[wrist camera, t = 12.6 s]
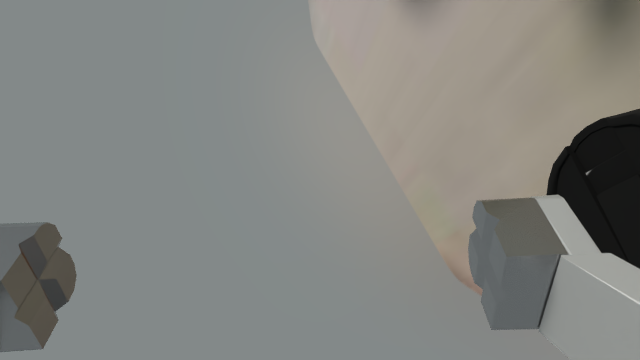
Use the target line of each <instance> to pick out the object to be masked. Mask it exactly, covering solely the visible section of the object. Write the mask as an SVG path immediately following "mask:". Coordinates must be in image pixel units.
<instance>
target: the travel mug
mask: <svg viewBox="0 0 640 360" xmlns="http://www.w3.org/2000/svg"><path fill="white" fill-rule="evenodd" d="M547 195H560V196H561V197H563V198H564V199H565V201H566V202H567V204H568V205H569V207H570V208H571V209H572V211H573V212H574V214H575V215H576V217H577V218H578V220H579V221H580V222H581V224H582V225H583V227H584V228H585V230H586V231H587V233H588V234H589V235H590V237H591V238H592V240H593V241H594V243H595V244H596V246H597V247H598V248H599V250H600V251H601V253H611V254H613V255H615V256H617V257H619V258H621V259H622V260H624V261H626V262H628V263H630V264H631V265H633V266H635V267H637V268H639V269H640V109H637V110H633V111H630V112H626V113H622V114H618V115H614V116H610V117H606V118H602V119H600V120H598V121H596V122H594V123H592V124H590V125H589V126H587V127H585V128H584V129H583V130H582V131H581V132H580V133H578V134H577V135H576V136H575V137H574V139H573V141H572V143H571V145H570V146H567V147H565V148H564V150H563V151H562V153H561V154H560V155H559V157H558V158H557V160H556V161H555V163H554V164H553V167H552V170H551V173H550V177H549V180H548V188H547Z"/></svg>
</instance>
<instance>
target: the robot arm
mask: <svg viewBox="0 0 640 360" xmlns="http://www.w3.org/2000/svg"><path fill="white" fill-rule="evenodd" d="M473 220H474V223H475V225H476V228H477V229H476V230H475V231H474V232H473V233H472V234H471V235H470V239H469V248H468V251H469V264H470V269H471V274H472V277H473V280H474V283H475V284H477V285H478V286H479V287H481V288H482V289H483V292H482V298H481V303H482V305H483V308H484V311H485V314H486V316H487V319H488V322H489V324H490V328H491V330H507V329H508V330H509V329H539V332H540V333H541V334H542V335H543V336H544V337H545V338H547V339H548V340H549V341H550V342H551V343H552V344H553V345H554V346H555V347H557V348H558V349H559V350H560V351H561V352H562V353H563V354H564V355H565V356H566V357H567V358H569V359H570V360H640V269H639V268H637V267H635V266H633V265H631V264H630V263H628V262H626V261H624V260H622V259H621V258H619V257H617V256H615V255H613V254H611V253H601V251H600V250H599V248H598V247H597V246H596V244H595V243H594V241H593V240H592V238H591V237H590V235H589V234H588V233H587V231H586V230H585V228H584V227H583V225H582V224H581V222H580V221H579V220H578V218H577V217H576V215H575V214H574V212H573V211H572V209H571V208H570V207H569V205H568V204H567V202H566V201H565V199H564V198H563V197H561V196H560V195H547V196H534V197H530V198H514V199H497V200H479V201H477V202H476V204H475V206H474V211H473ZM61 240H62V237H61V236H60V234H59V232H58V230H57V228H56V226H55V225H53V224H50V223H13V224H0V352H9V351H23V350H36V349H43V348H44V346H45V344H46V342H47V341H48V339H49V337H50V335H51V333H52V331H53V329H54V327H55V326H56V324H57V322H58V317H57V314H56V310H58V309H59V308H61V307H62V306H63V305H65V304H66V303H67V302H68V301H69V299H70V297H71V295H72V293H73V291H74V288H75V281H76V271H75V265H74V262H73V260H72V258H71V256H70V255H69V254H68V253H66V252H65V251H64V250H62V249H61V248H59V244H60V242H61Z"/></svg>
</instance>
